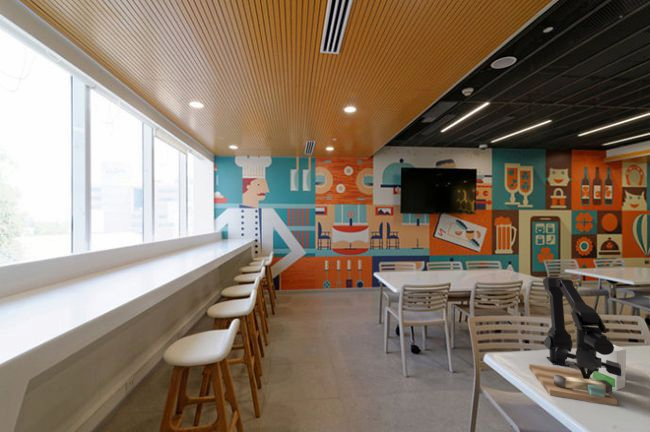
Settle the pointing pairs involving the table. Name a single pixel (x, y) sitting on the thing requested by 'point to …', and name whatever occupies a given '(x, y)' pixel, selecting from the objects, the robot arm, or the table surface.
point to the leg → (581, 383)
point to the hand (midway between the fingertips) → (586, 382)
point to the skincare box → (602, 374)
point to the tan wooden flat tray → (591, 395)
